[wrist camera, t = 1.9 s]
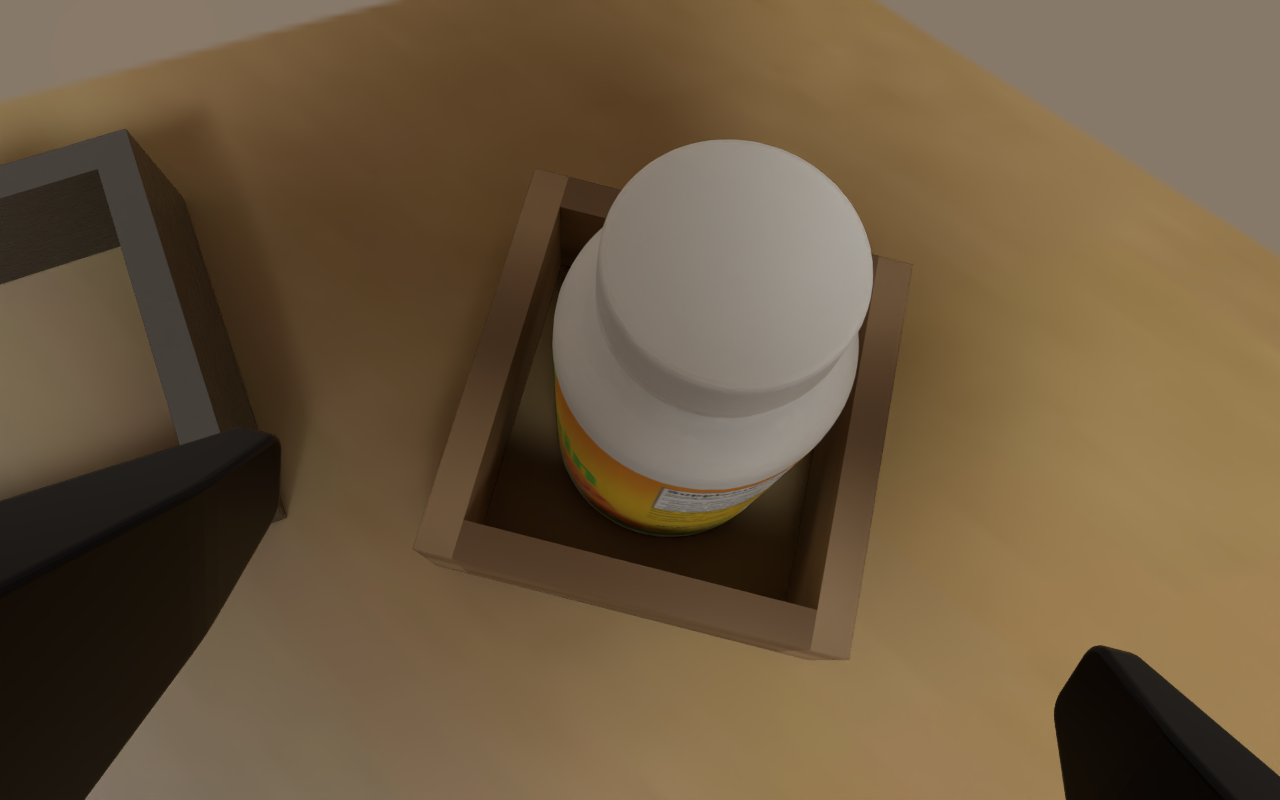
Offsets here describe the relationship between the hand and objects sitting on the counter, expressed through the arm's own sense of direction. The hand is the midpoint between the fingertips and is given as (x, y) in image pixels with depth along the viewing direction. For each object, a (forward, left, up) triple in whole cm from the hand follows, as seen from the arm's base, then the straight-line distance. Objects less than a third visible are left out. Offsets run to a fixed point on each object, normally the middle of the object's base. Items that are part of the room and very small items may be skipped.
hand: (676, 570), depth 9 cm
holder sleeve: (+4, +2, -11) cm, 12 cm away
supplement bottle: (+4, +2, -11) cm, 12 cm away
